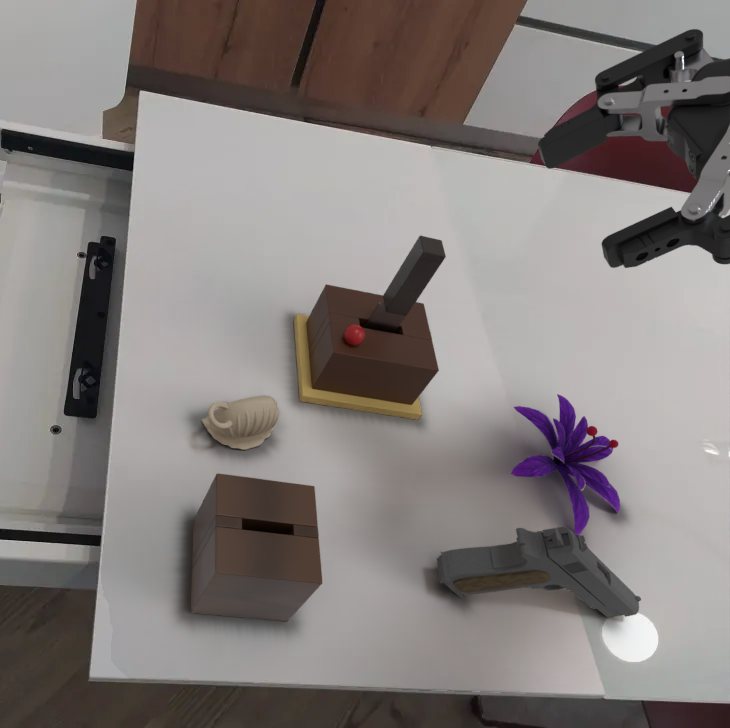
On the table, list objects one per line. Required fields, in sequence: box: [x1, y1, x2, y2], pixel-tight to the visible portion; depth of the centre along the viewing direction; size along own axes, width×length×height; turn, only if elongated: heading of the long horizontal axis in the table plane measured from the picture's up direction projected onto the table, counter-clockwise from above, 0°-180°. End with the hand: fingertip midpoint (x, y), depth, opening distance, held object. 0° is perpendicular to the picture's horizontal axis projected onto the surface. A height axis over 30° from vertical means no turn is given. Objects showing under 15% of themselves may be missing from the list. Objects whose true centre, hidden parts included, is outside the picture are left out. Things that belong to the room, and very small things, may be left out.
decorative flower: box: [510, 393, 621, 536], centre depth 74 cm, size 14×15×7 cm
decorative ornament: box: [201, 395, 280, 451], centre depth 67 cm, size 4×8×5 cm, turn 110°
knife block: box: [190, 473, 323, 622], centre depth 58 cm, size 8×8×8 cm
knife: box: [363, 235, 447, 333], centre depth 71 cm, size 3×2×17 cm
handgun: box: [436, 525, 642, 618], centre depth 65 cm, size 3×18×12 cm
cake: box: [293, 283, 440, 421], centre depth 75 cm, size 13×11×9 cm
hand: (572, 203), depth 43 cm, fingers open, 8 cm apart
